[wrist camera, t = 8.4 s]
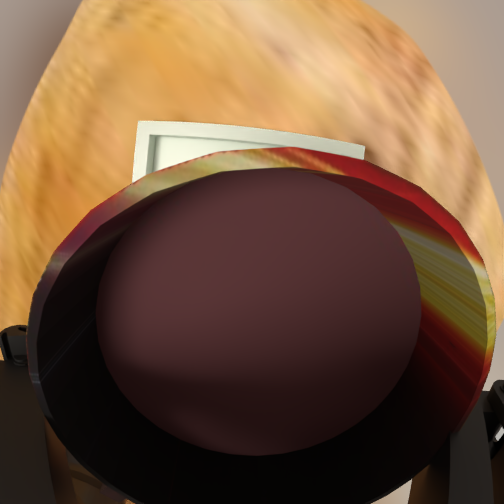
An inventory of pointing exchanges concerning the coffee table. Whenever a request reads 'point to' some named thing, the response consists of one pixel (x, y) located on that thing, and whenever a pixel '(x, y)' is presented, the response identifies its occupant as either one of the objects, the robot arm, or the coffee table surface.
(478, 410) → the robot arm
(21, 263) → the coffee table surface
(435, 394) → the mug
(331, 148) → the tray
